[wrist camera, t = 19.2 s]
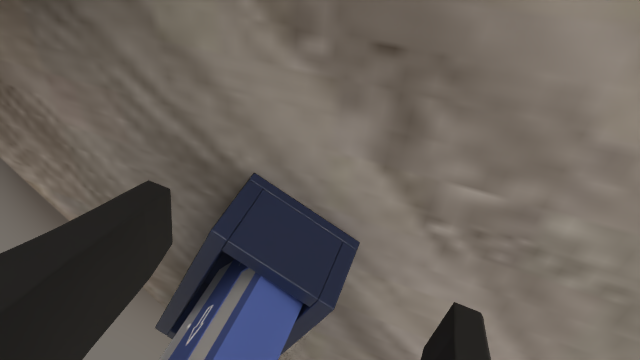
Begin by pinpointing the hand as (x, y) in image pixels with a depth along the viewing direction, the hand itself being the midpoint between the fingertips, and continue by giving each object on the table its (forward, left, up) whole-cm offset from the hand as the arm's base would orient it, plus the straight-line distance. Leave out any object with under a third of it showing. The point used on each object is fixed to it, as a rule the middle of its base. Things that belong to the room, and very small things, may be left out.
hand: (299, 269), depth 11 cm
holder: (+1, -15, -10) cm, 18 cm away
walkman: (+1, -14, -10) cm, 17 cm away
